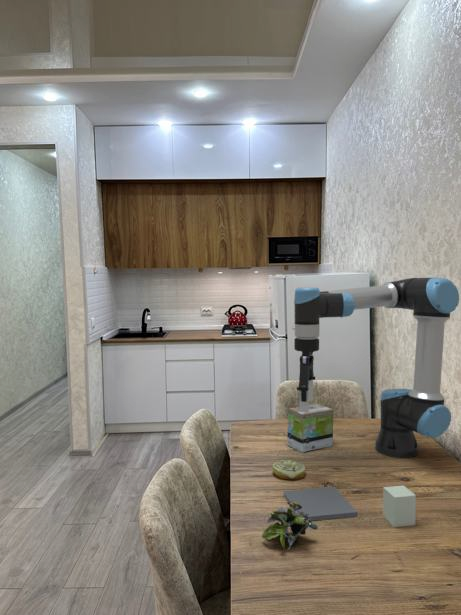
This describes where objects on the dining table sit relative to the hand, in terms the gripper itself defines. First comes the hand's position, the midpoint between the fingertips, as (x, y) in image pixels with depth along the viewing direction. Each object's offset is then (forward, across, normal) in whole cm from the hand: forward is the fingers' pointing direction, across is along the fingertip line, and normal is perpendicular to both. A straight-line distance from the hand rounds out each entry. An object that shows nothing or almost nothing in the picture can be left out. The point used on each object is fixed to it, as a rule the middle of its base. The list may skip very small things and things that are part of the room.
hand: (306, 405), depth 146 cm
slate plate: (+25, +12, +5) cm, 28 cm away
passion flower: (+26, +33, -1) cm, 42 cm away
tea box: (+26, -36, -2) cm, 44 cm away
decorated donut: (+26, -7, -6) cm, 27 cm away
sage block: (+25, +15, +26) cm, 39 cm away
